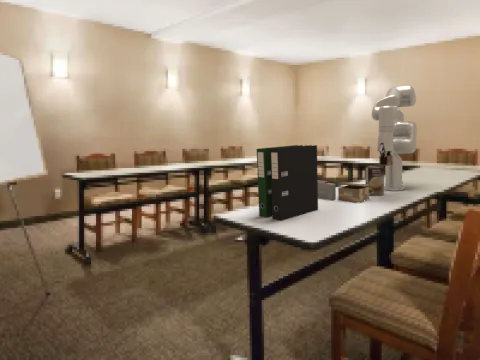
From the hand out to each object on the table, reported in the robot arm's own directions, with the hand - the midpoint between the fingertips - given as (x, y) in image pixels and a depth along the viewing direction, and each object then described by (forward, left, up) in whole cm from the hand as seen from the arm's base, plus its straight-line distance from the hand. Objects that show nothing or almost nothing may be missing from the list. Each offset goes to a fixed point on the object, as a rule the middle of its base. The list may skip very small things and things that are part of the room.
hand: (385, 163), depth 190 cm
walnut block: (0, 0, -1) cm, 1 cm away
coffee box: (-9, -10, -20) cm, 24 cm away
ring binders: (+54, -23, -20) cm, 62 cm away
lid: (+9, -13, -11) cm, 20 cm away
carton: (+10, -13, -19) cm, 25 cm away
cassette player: (+15, -29, -20) cm, 38 cm away
